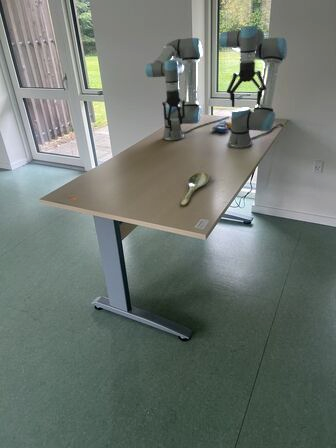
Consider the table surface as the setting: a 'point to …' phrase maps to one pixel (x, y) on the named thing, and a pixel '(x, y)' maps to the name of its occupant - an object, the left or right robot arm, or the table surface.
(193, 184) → the spoon
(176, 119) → the brick
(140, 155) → the table surface
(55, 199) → the table surface
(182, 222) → the table surface
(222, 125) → the spray gun
